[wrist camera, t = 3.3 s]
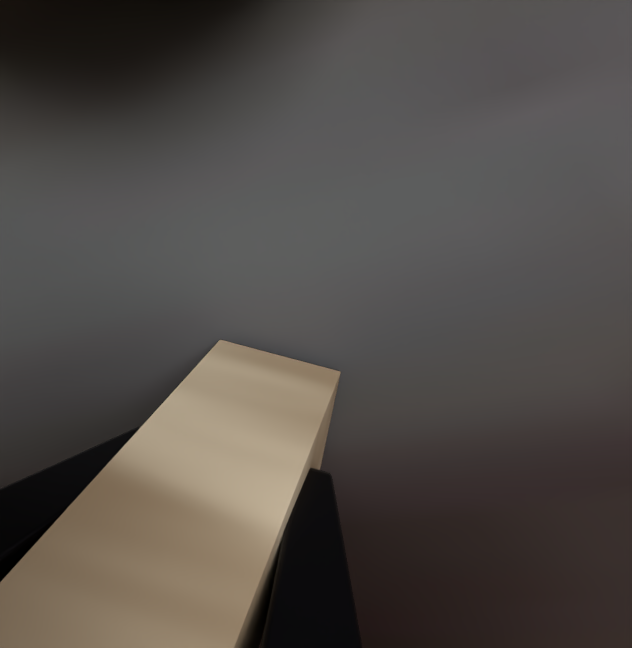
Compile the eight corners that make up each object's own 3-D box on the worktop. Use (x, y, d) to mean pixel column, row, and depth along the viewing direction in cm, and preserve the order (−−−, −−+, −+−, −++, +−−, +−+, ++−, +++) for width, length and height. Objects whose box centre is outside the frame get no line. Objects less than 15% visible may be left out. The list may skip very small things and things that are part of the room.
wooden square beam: (319, 468, 11) (87, 1143, 4) (212, 436, 11) (-177, 1006, 4) (340, 371, 10) (69, 1075, 3) (220, 339, 10) (-285, 897, 3)
